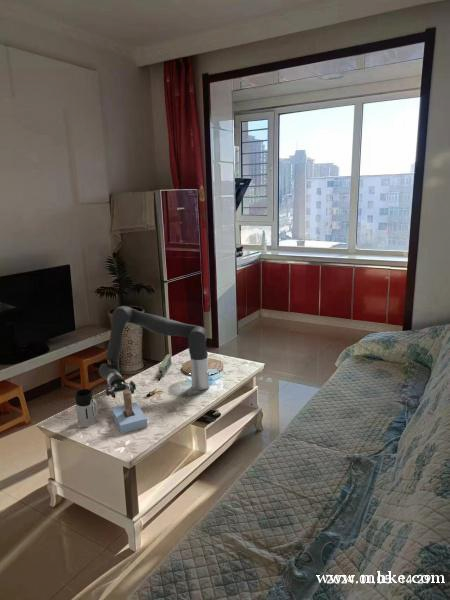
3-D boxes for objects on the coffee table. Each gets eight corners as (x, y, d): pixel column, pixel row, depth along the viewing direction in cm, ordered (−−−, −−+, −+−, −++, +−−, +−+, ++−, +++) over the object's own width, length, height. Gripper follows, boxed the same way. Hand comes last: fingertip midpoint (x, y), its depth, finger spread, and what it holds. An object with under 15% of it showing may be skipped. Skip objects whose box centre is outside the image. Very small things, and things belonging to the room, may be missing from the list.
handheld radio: (172, 364, 269) (162, 381, 244) (167, 364, 269) (156, 381, 245) (171, 354, 267) (160, 370, 243) (166, 354, 267) (155, 370, 243)
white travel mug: (89, 415, 209) (86, 386, 205) (107, 424, 200) (104, 394, 196) (73, 422, 202) (69, 393, 198) (90, 432, 193) (87, 402, 190)
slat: (130, 416, 204) (128, 389, 201) (133, 420, 200) (130, 392, 197) (125, 417, 203) (122, 390, 200) (127, 421, 199) (125, 394, 196)
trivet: (177, 376, 251) (177, 373, 250) (187, 360, 275) (187, 357, 274) (219, 377, 247) (219, 374, 246) (226, 361, 271) (226, 358, 270)
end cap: (137, 409, 212) (136, 402, 211) (147, 426, 197) (146, 418, 196) (112, 415, 207) (111, 408, 206) (121, 433, 192) (120, 425, 191)
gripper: (101, 377, 216) (107, 390, 202) (129, 371, 222) (137, 383, 208) (102, 391, 218) (109, 404, 204) (130, 385, 224) (139, 397, 210)
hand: (123, 394), depth 206 cm, fingers open, 8 cm apart
